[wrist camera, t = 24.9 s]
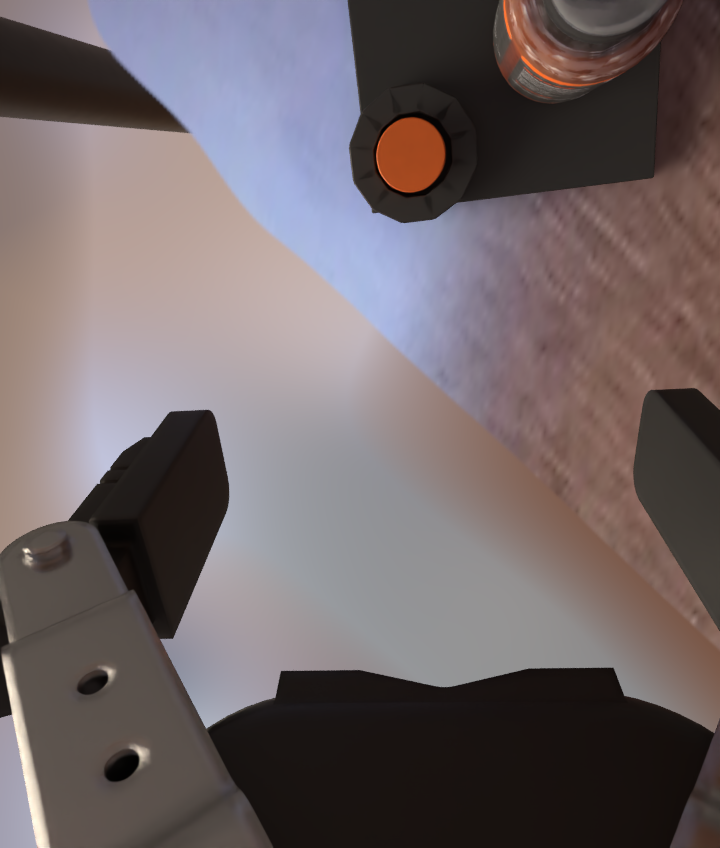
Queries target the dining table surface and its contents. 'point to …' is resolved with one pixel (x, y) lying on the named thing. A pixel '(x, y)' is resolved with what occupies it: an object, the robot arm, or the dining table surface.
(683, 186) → the dining table surface
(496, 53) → the supplement bottle
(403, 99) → the kitchen scale
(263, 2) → the dining table surface
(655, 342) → the dining table surface
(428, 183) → the button
